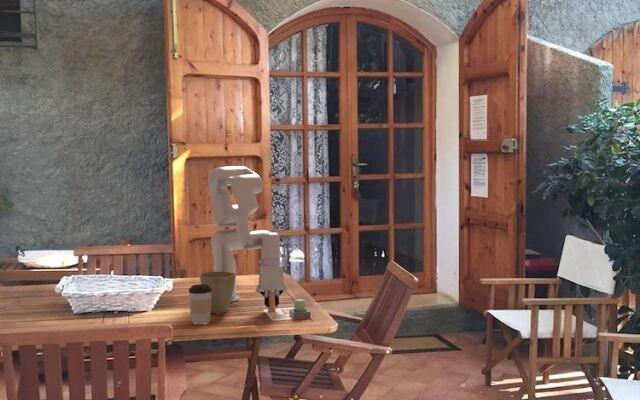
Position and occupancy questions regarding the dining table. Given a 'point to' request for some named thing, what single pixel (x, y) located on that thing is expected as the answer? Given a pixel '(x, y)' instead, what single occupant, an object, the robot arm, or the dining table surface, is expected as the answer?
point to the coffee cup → (200, 303)
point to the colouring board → (280, 314)
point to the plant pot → (219, 289)
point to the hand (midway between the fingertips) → (271, 305)
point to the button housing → (300, 314)
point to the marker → (271, 301)
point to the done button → (299, 305)
